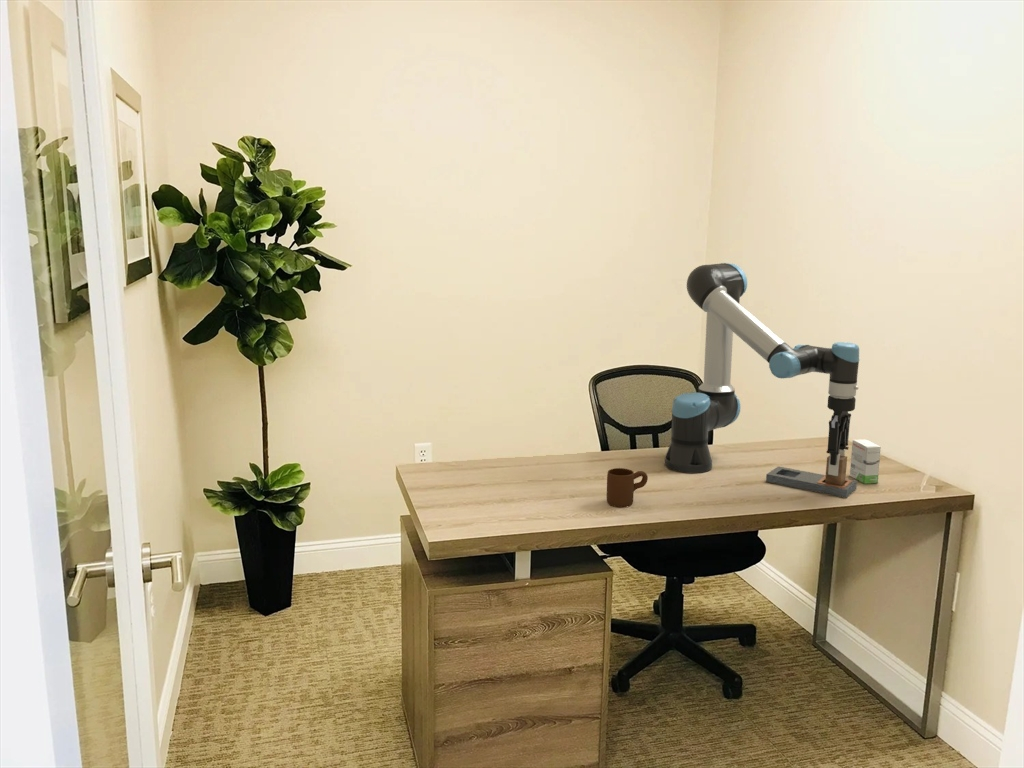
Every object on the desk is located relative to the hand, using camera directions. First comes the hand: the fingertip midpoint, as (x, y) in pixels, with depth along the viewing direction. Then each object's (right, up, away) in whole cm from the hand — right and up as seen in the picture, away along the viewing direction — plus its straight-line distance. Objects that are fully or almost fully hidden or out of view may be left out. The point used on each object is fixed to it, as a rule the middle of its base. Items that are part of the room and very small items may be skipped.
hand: (835, 472), depth 253 cm
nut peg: (0, -4, +1) cm, 4 cm away
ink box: (+13, -4, +11) cm, 17 cm away
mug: (-63, -8, -10) cm, 64 cm away
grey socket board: (-6, -5, +5) cm, 9 cm away
